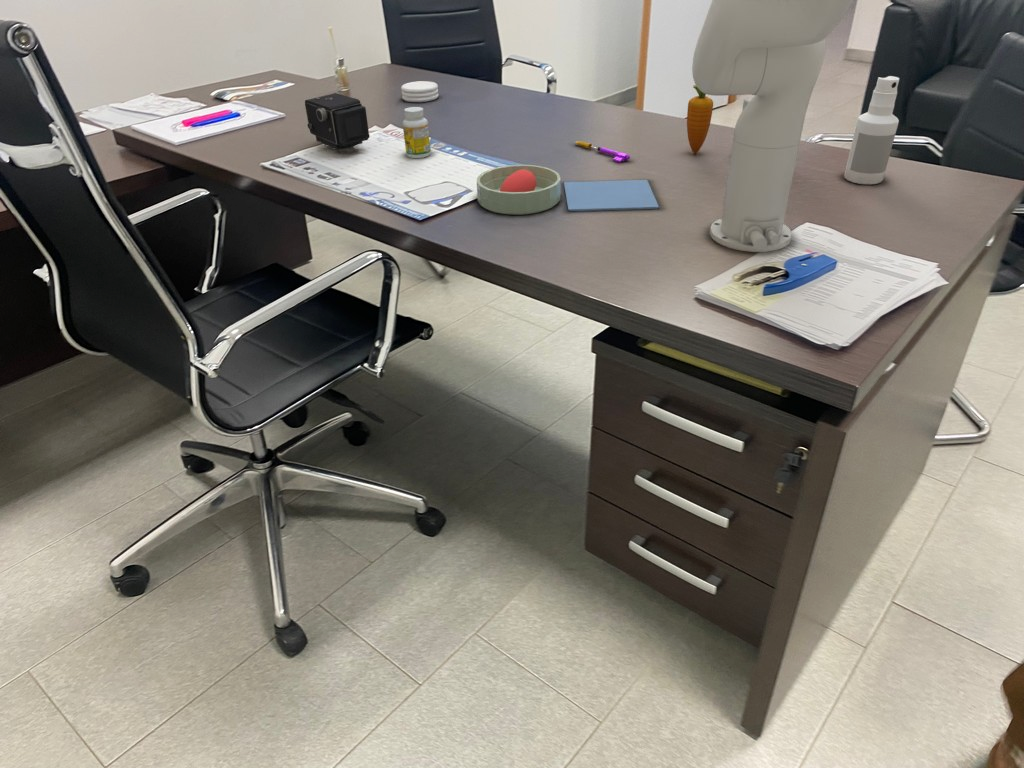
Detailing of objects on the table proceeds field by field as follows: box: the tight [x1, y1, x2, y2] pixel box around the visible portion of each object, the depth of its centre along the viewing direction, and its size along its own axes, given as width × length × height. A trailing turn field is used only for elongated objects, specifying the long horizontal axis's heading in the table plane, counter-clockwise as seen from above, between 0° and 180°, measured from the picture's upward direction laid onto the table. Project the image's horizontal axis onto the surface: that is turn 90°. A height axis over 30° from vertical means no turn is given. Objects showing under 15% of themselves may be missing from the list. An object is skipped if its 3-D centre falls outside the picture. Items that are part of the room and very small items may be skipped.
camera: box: [304, 92, 370, 154], centre depth 159 cm, size 11×11×15 cm
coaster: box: [400, 80, 439, 103], centre depth 196 cm, size 10×10×4 cm
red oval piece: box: [500, 169, 536, 192], centre depth 131 cm, size 5×9×6 cm, turn 140°
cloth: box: [563, 179, 660, 212], centre depth 133 cm, size 14×16×1 cm
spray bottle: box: [843, 75, 900, 186], centre depth 131 cm, size 7×7×18 cm
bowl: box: [476, 164, 562, 216], centre depth 132 cm, size 15×15×4 cm
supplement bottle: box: [402, 106, 432, 159], centre depth 154 cm, size 5×5×10 cm
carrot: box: [686, 84, 714, 155], centre depth 147 cm, size 5×5×15 cm
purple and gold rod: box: [574, 140, 631, 164], centre depth 153 cm, size 3×1×16 cm
